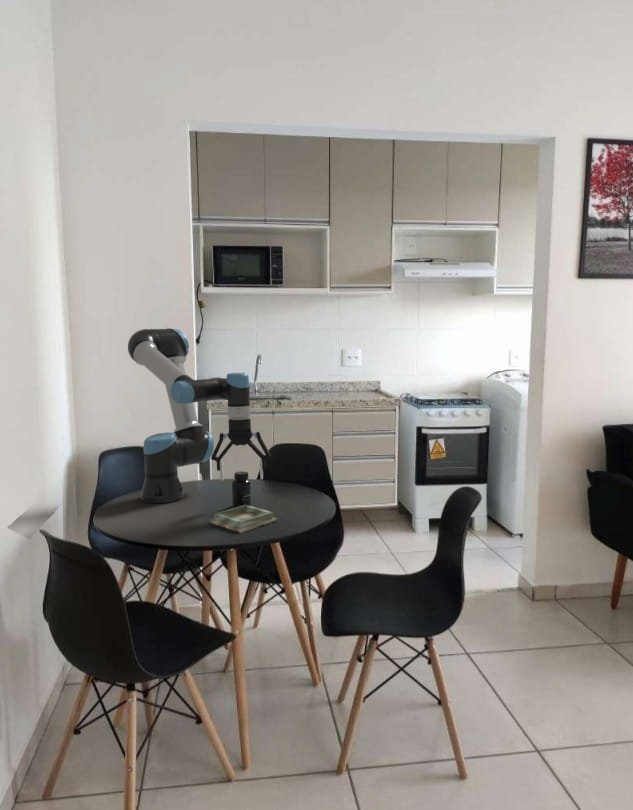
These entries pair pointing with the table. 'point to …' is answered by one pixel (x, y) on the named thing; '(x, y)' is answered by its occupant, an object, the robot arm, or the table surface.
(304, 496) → the table surface
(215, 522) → the green square tray
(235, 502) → the supplement bottle
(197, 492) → the table surface
